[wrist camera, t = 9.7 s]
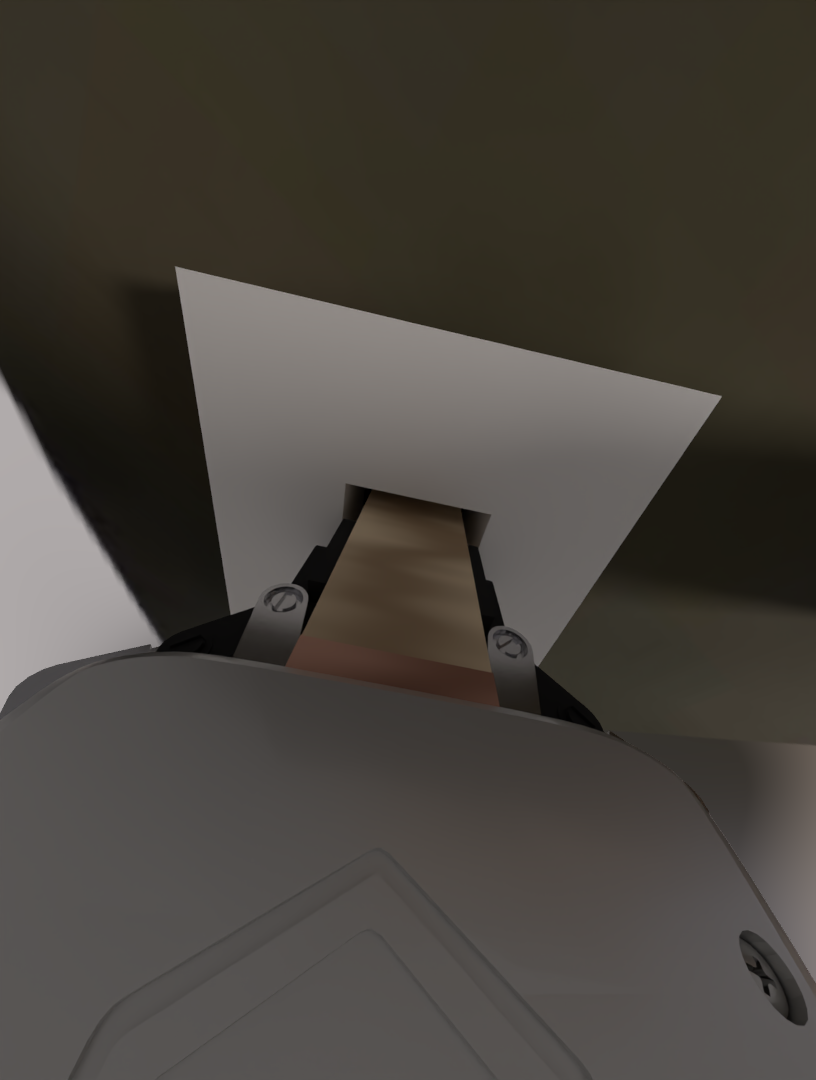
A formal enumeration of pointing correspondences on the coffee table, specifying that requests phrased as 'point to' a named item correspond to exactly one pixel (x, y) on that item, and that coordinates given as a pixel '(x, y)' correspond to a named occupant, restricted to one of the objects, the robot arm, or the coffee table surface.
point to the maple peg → (402, 605)
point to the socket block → (420, 443)
